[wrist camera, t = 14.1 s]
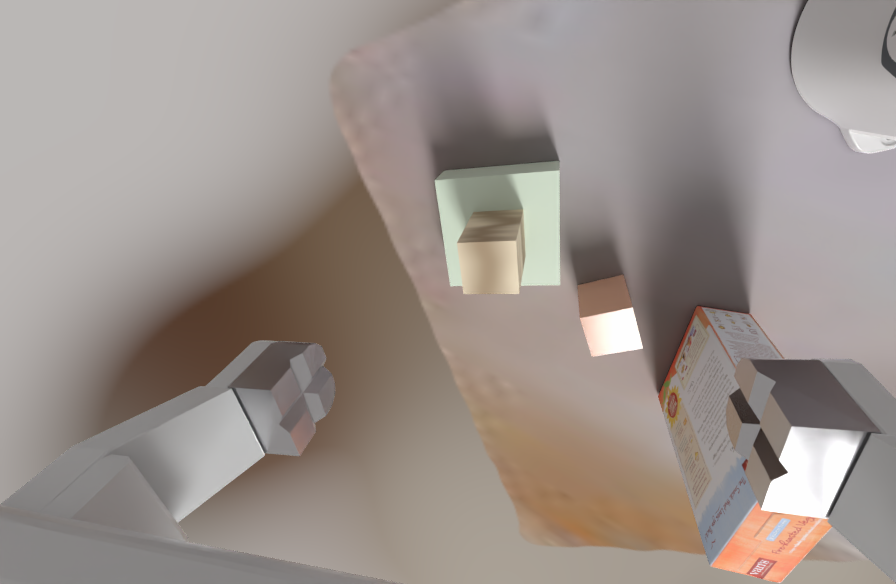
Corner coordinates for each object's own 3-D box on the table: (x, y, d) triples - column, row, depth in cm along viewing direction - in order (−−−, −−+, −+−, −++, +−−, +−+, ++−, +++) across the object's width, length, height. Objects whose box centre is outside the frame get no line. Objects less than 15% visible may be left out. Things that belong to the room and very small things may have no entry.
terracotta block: (623, 274, 46) (632, 307, 40) (632, 311, 47) (642, 348, 42) (577, 285, 47) (580, 318, 42) (588, 320, 49) (592, 356, 43)
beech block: (523, 209, 40) (516, 240, 34) (525, 255, 43) (519, 293, 36) (473, 212, 42) (456, 242, 35) (478, 256, 44) (463, 293, 37)
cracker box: (706, 405, 51) (782, 589, 34) (655, 395, 52) (703, 568, 35) (756, 312, 44) (886, 484, 27) (696, 302, 45) (782, 462, 28)
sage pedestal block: (559, 160, 41) (559, 170, 38) (560, 268, 47) (560, 285, 43) (444, 170, 44) (434, 180, 41) (457, 270, 50) (450, 286, 47)
